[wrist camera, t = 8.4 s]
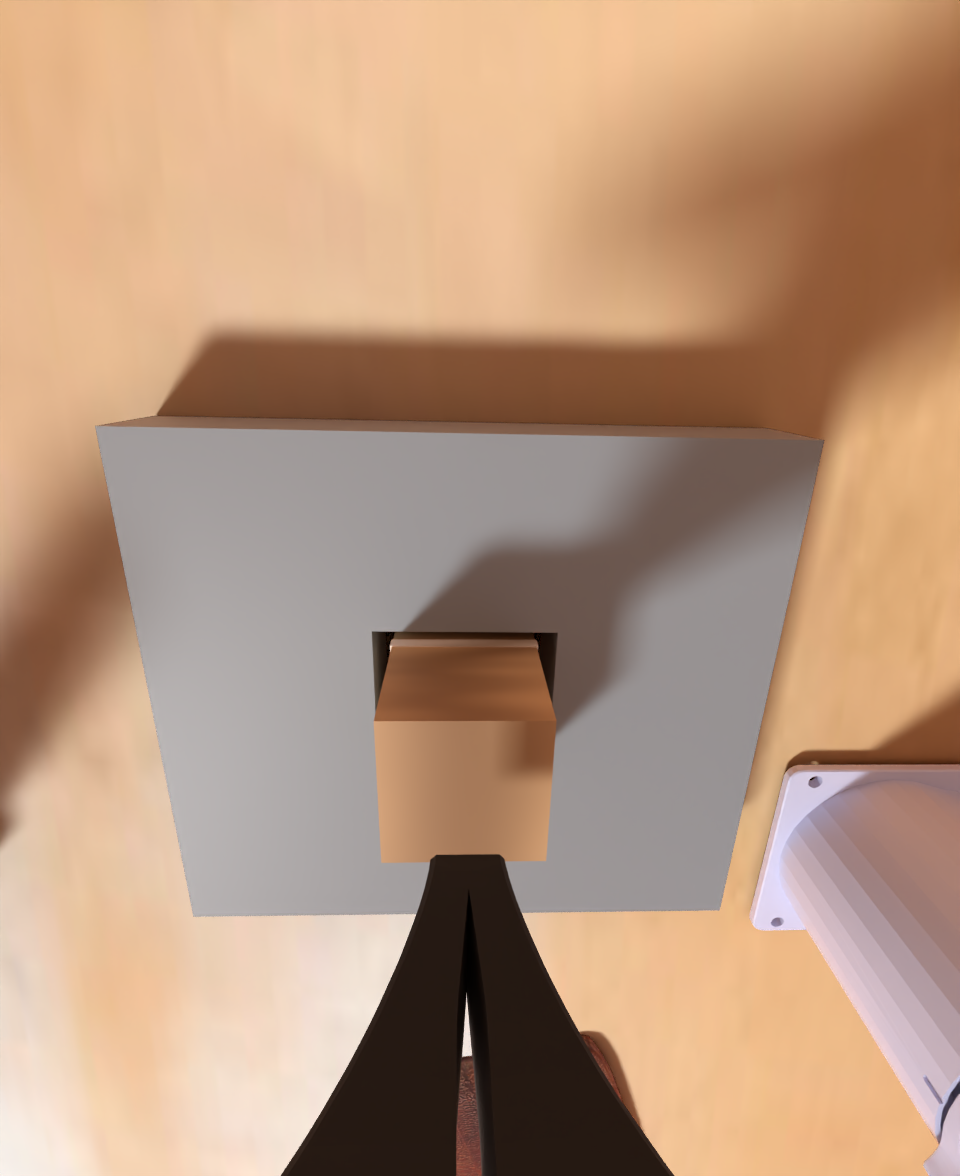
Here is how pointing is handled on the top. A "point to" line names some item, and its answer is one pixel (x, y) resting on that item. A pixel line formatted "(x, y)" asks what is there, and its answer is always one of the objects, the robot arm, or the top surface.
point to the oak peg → (464, 747)
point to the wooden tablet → (468, 1116)
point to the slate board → (454, 604)
